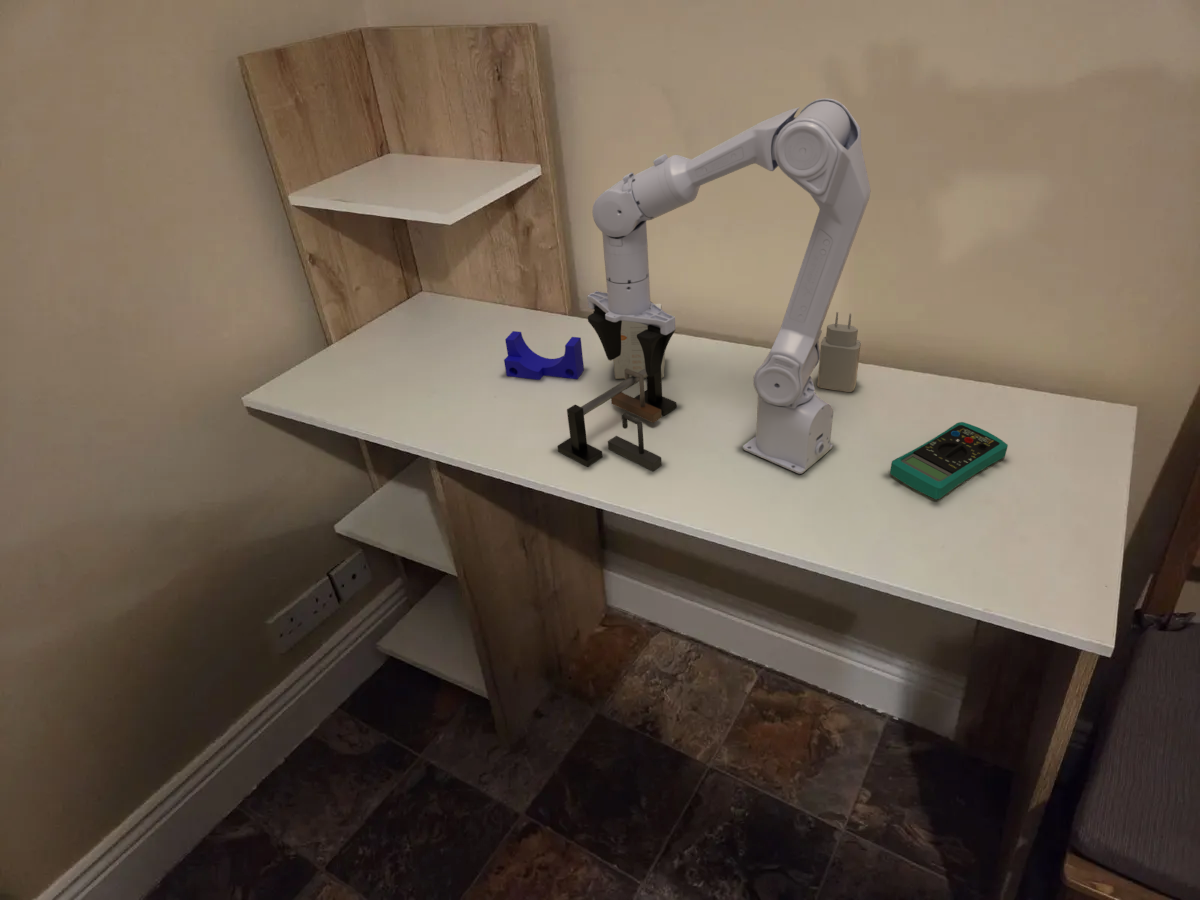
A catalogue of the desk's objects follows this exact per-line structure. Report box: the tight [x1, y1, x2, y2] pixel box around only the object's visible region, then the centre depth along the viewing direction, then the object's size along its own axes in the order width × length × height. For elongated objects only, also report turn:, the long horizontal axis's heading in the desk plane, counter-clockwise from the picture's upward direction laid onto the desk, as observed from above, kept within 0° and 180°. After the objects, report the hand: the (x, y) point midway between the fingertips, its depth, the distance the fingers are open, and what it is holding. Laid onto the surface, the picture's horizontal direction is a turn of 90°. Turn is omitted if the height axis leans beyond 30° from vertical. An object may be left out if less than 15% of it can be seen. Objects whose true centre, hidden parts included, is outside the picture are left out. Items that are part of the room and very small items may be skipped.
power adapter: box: [816, 311, 862, 393], centre depth 119 cm, size 3×5×12 cm, turn 65°
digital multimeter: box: [889, 421, 1009, 500], centre depth 103 cm, size 7×15×3 cm, turn 125°
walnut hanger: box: [610, 368, 662, 424], centre depth 117 cm, size 8×2×7 cm, turn 46°
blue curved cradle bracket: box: [503, 330, 585, 381], centre depth 131 cm, size 12×4×6 cm, turn 70°
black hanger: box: [607, 412, 663, 472], centre depth 110 cm, size 8×2×7 cm, turn 45°
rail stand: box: [557, 368, 678, 468], centre depth 115 cm, size 6×19×8 cm, turn 136°
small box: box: [612, 303, 666, 380], centre depth 128 cm, size 8×6×10 cm
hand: (633, 365), depth 114 cm, fingers open, 7 cm apart
